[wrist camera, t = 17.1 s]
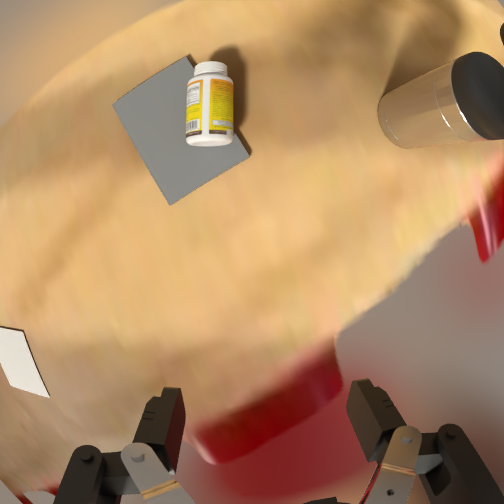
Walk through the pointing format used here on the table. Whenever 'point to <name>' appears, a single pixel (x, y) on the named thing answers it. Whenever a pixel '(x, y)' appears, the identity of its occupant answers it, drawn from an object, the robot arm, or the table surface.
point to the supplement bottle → (209, 106)
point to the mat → (172, 134)
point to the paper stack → (19, 362)
